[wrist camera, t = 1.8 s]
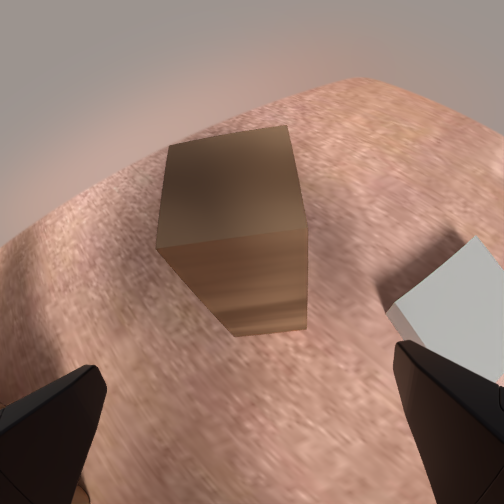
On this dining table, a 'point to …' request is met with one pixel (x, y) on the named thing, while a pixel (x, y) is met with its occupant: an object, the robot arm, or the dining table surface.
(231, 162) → the walnut block
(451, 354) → the grey block
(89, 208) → the dining table surface
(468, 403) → the robot arm
